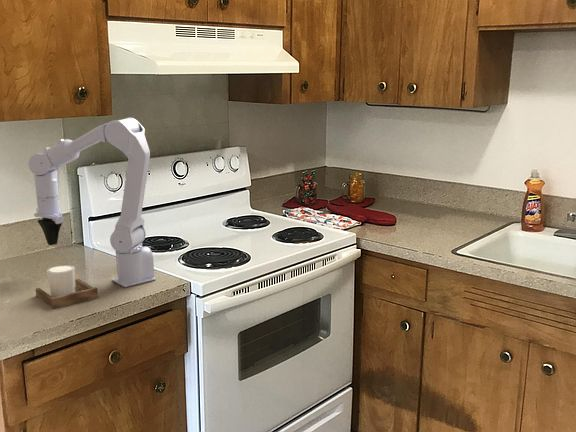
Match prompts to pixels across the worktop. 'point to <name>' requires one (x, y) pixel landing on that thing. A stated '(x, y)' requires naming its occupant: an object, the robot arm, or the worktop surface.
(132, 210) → the robot arm
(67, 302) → the walnut bay
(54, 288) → the white cylinder
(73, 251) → the worktop surface
